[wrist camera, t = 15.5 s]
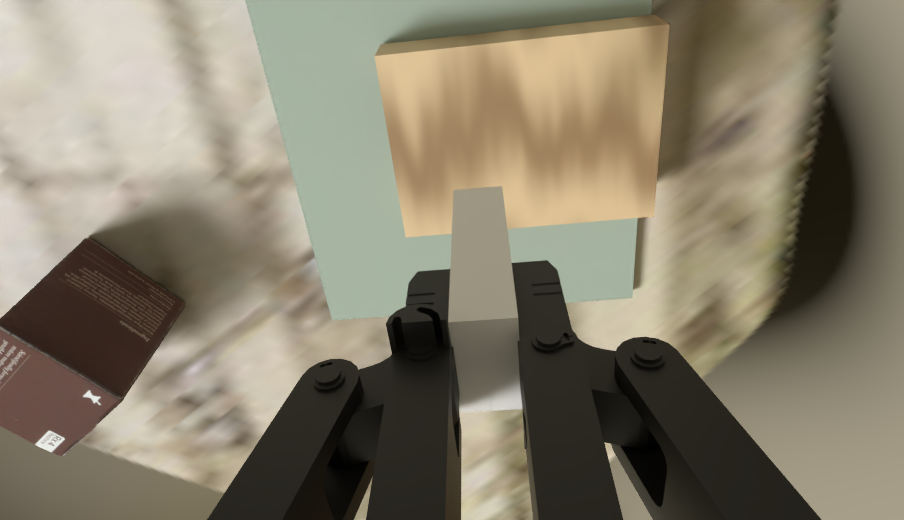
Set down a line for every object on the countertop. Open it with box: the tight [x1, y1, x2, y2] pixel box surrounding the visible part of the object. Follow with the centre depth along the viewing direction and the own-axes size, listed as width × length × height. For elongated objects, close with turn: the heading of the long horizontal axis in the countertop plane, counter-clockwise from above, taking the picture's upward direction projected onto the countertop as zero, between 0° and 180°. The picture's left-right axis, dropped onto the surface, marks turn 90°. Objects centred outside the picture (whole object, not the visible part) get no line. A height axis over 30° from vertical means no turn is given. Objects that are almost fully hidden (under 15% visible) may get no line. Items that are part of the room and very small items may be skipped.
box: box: [0, 238, 185, 456], centre depth 29 cm, size 6×6×7 cm
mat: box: [245, 0, 652, 320], centre depth 26 cm, size 20×16×1 cm
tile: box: [374, 14, 670, 237], centre depth 25 cm, size 8×2×11 cm
